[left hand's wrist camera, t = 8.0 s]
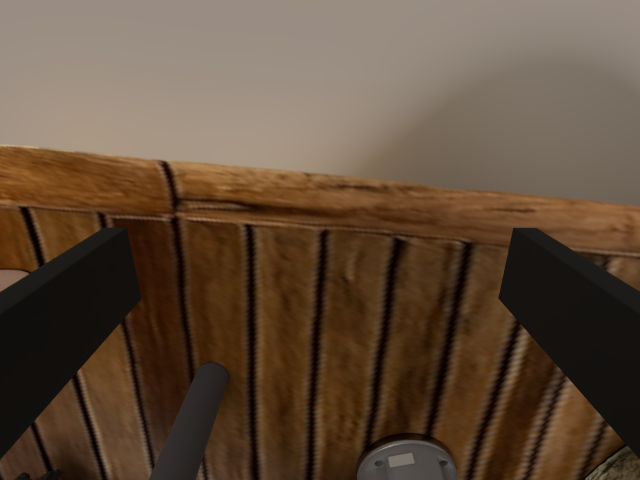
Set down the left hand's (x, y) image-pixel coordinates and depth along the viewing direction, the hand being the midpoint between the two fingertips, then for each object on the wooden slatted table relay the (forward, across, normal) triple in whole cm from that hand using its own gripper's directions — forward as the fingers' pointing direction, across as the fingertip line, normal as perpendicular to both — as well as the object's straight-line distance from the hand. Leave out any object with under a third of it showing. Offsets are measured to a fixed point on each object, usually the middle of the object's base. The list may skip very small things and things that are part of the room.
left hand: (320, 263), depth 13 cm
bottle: (+28, +15, +31) cm, 44 cm away
